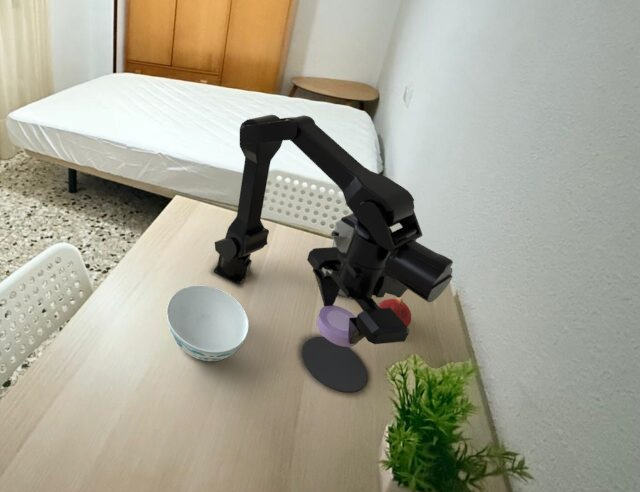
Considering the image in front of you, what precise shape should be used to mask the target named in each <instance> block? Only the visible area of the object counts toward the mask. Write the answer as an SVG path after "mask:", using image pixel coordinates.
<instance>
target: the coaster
mask: <svg viewBox="0 0 640 492" xmlns="http://www.w3.org/2000/svg"><path fill="white" fill-rule="evenodd" d="M301 358H302V362H303V363H304V366H305V367H306V369H307V370H308V372H309V373H310V374H311V376H313V377H314V378H315V379H316V380H317V381H318V382H320V383H321V384H322V385H324V386H326V387H328V388H329V389H331V390H334V391H337V392H341V393H355V392H358V391H359V390H361V389H363V387H364V386H365V385H366V382H367V378H368V377H367V370H366V366H365V365H364V363H363V361H362V360H361V358H360V357H359V356H358V355H357V353H356V352H354V351H353V349H351V347H343V346H339V345H336V344H334V343H332V342H330V341H329V340H327V339H326V338H325V337H324V336H313V337H310V338H309V339H307V340H305V342H304V343H303V345H302V348H301Z"/></svg>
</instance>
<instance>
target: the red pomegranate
mask: <svg viewBox="0 0 640 492" xmlns="http://www.w3.org/2000/svg"><path fill="white" fill-rule="evenodd" d="M377 305H378V306H379V307H380V308H381V309H382V308H391V309H392V310H393V311H394V312H395V314H396V315H397V316H398V317H399V318H400V319H401V320H402V321H403V323H404V324H405V325H406V326H407V327H408V328H409V326H410V325H411V323H412V312H411V310H410V308H409V306H408V305H407V304H406V303H405V302H404V298H403V297H402V296H401V297H396V298H387V299H386V298H385V299H383V300H382V301H381V302H380V303H378V304H377Z"/></svg>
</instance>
